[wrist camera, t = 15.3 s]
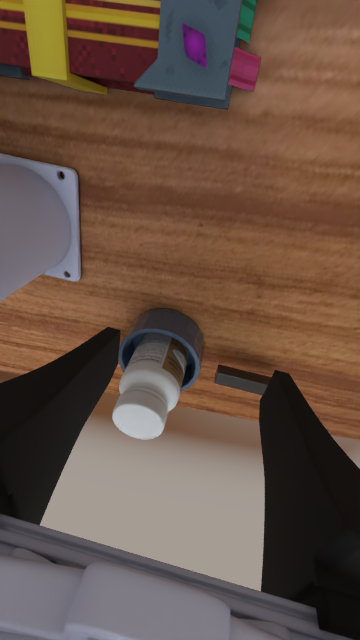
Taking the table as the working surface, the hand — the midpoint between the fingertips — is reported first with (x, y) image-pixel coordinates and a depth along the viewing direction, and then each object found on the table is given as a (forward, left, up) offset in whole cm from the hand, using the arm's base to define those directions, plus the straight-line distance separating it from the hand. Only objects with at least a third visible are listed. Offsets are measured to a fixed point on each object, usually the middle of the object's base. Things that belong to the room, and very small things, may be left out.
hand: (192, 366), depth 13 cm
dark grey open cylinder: (-2, -6, -9) cm, 12 cm away
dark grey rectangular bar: (+5, -6, -7) cm, 11 cm away
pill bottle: (-2, -7, -9) cm, 12 cm away
